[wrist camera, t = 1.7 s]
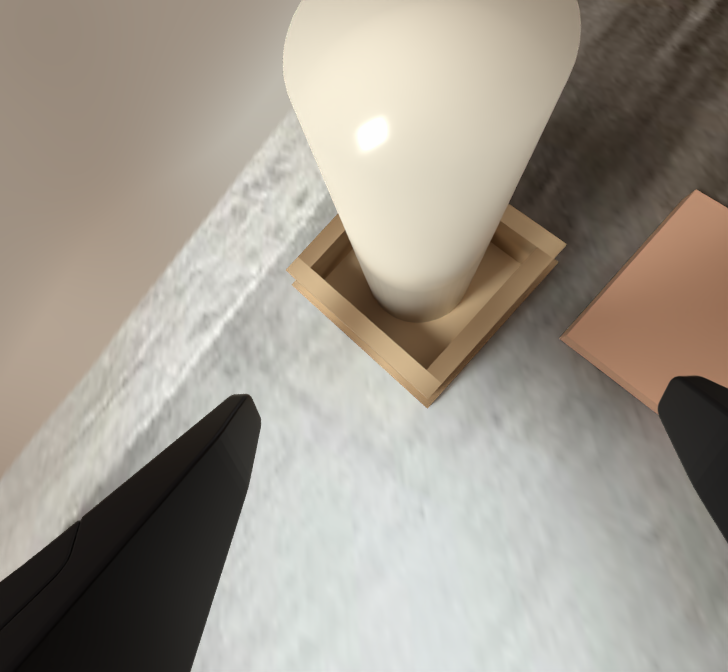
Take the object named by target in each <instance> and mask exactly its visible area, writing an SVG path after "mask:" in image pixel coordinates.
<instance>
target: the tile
mask: <svg viewBox="0 0 728 672" xmlns="http://www.w3.org/2000/svg"><path fill="white" fill-rule="evenodd" d="M559 339H561V340H562V341H563V342H564V343H566V344H567V345H568V346H570V347H571V348H572V349H574V350H575V351H576V352H577V353H579V354H580V355H581V356H583V357H584V358H585V359H587V360H588V361H589V362H590V363H592V364H593V365H594V366H596V367H597V368H598V369H600V370H601V371H602V372H603V373H605V374H606V375H607V376H609V377H610V378H611V379H613V380H614V381H615V382H616V383H618V384H619V385H620V386H622V387H623V388H624V389H626V390H627V391H628V392H629V393H631V394H632V395H633V396H635V397H636V398H637V399H639V400H640V401H641V402H642V403H644V404H645V405H646V406H648V407H649V408H650V409H652V410H653V411H654V412H655V413H657V414H658V403H659V401H660V399H661V397H662V395H663V393H664V391H665V389H666V387H667V385H668V384H669V382H670V380H671V379H672V378H674V377H676V376H692V375H696V376H702V377H704V378H707V379H709V380H711V381H713V382H715V383H717V384H719V385H722V386H724V387H726V388H728V208H726V207H725V206H723V205H721V204H720V203H718V202H716V201H715V200H713V199H711V198H710V197H708V196H706V195H705V194H703V193H701V192H700V191H698V190H695V191H693V192H692V193H691V194H689V195H688V196H687V197H685V198H684V199H682V201H681V202H680V203H679V204H678V205H677V206H676V207H675V208H674V210H673V211H672V212H671V213H670V214H669V215H668V216H667V217H666V219H665V220H664V221H663V222H662V223H661V224H660V225H659V226H658V228H657V229H656V230H655V231H654V232H653V233H652V234H651V235H650V237H649V238H648V239H647V240H646V241H645V242H644V243H643V244H642V246H641V247H640V248H639V249H638V250H637V251H636V252H635V253H634V255H633V256H632V257H631V258H630V259H629V260H628V261H627V262H626V264H625V265H624V266H623V267H622V268H621V269H620V270H619V271H618V273H617V274H616V275H615V276H614V277H613V278H612V279H611V280H610V282H609V283H608V284H607V285H606V286H605V287H604V288H603V289H602V291H601V292H600V293H599V294H598V295H597V296H596V297H595V298H594V300H593V301H592V302H591V303H590V304H589V305H588V306H587V307H586V309H585V310H584V311H583V312H582V313H581V314H580V315H579V316H578V318H577V319H576V320H575V321H574V322H573V323H572V324H571V325H570V327H569V328H568V329H567V330H566V331H565V332H564V333H563V334H562V336H561V337H560V338H559ZM658 415H659V414H658Z"/></svg>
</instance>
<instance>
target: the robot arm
mask: <svg viewBox="0 0 728 672" xmlns="http://www.w3.org/2000/svg"><path fill="white" fill-rule="evenodd" d="M658 414H659V417H660V419H661V421H662V424H663V426H664V428H665V430H666V432H667V434H668V436H669V438H670V440H671V442H672V444H673V446H674V449H675V451H676V453H677V455H678V457H679V459H680V461H681V463H682V465H683V467H684V469H685V471H686V473H687V475H688V477H689V479H690V481H691V483H692V485H693V487H694V489H695V490H696V492H697V494H698V496H699V497H700V499H701V501H702V502H703V504H704V506H705V507H706V509H707V510H708V512H709V514H710V515H711V517H712V519H713V520H714V522H715V523H716V525H717V527H718V528H719V530H720V532H721V533H722V535H723V536H724V538H725V540H726V541H727V543H728V388H726V387H724V386H722V385H719V384H717V383H715V382H713V381H711V380H709V379H707V378H704V377H702V376H696V375H692V376H676V377H674V378H672V379H671V380H670V382H669V384H668V385H667V387H666V389H665V391H664V393H663V395H662V397H661V399H660V401H659V403H658ZM260 429H261V418H260V415H259V413H258V411H257V408H256V406H255V404H254V401H253V399H252V397H251V396H250V395H249V394H234V395H231V396H230V397H228V398H227V399H226V400H224V401H223V402H222V403H221V404H220V405H218V406H217V407H216V408H215V409H213V410H212V411H211V412H210V413H209V414H207V415H206V416H205V417H204V418H203V419H201V420H200V421H199V422H198V423H196V424H195V425H194V426H193V427H192V428H190V429H189V430H188V431H187V432H185V433H184V434H183V435H182V436H181V437H179V438H178V439H177V440H176V441H174V442H173V443H172V444H171V445H170V446H168V447H167V448H166V449H165V450H163V451H162V452H161V453H160V454H159V455H157V456H156V457H155V458H154V459H152V460H151V461H150V462H149V463H148V464H146V465H145V466H144V467H143V468H142V469H140V470H139V471H138V472H137V473H135V474H134V475H133V476H132V477H131V478H129V479H128V480H127V481H126V482H124V483H123V484H122V485H121V486H120V487H118V488H117V489H116V490H115V491H113V492H112V493H111V494H110V495H109V496H107V497H106V498H105V499H104V500H102V501H101V502H100V503H99V504H98V505H96V506H95V507H94V508H93V509H91V510H90V511H89V512H88V513H87V514H85V515H84V516H83V517H82V519H81V521H77V522H75V523H74V524H73V525H72V526H71V527H69V528H68V529H67V530H66V531H64V532H63V533H62V534H61V535H60V536H58V537H57V538H56V539H55V540H53V541H52V542H51V543H50V544H48V545H47V546H46V547H45V548H43V549H42V550H41V551H40V552H38V553H37V554H36V555H35V556H33V557H32V558H31V559H30V560H28V561H27V562H26V563H25V564H23V565H22V566H21V567H19V568H18V569H17V570H15V571H14V572H13V573H11V574H10V575H9V576H7V577H6V578H5V579H4V580H2V581H1V582H0V672H191V668H192V665H193V662H194V659H195V656H196V653H197V649H198V646H199V643H200V640H201V637H202V634H203V630H204V627H205V624H206V621H207V618H208V615H209V611H210V608H211V605H212V602H213V599H214V596H215V592H216V589H217V586H218V583H219V580H220V576H221V573H222V570H223V567H224V564H225V561H226V557H227V554H228V551H229V548H230V545H231V542H232V538H233V535H234V532H235V529H236V526H237V523H238V519H239V516H240V513H241V510H242V507H243V504H244V500H245V497H246V494H247V490H248V487H249V482H250V478H251V473H252V468H253V463H254V458H255V453H256V449H257V444H258V439H259V434H260Z"/></svg>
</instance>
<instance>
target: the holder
mask: <svg viewBox="0 0 728 672" xmlns="http://www.w3.org/2000/svg"><path fill="white" fill-rule="evenodd" d="M566 245H567V244H566V243H564V242H563V241H562V240H560V239H559V238H557V237H556V236H554V235H553V234H551V233H550V232H549V231H547V230H546V229H544V228H543V227H541V226H540V225H538V224H537V223H536V222H534V221H533V220H531V219H530V218H528V217H527V216H526V215H524V214H523V213H521V212H520V211H518V210H517V209H515V208H514V207H513V206H511V205H510V204H508V206H507V208H506V210H505V212H504V214H503V216H502V218H501V220H500V222H499V224H498V226H497V229H496V231H495V233H494V235H493V237H492V239H491V241H490V243H489V245H488V247H487V249H486V252H485V254H484V256H483V258H482V260H481V262H480V264H479V266H478V268H477V270H476V273H475V275H474V277H473V279H472V281H471V283H470V285H469V287H468V289H467V291H466V293H465V295H464V297H463V299H462V300H461V302H460V303H459V304H458V305H457V306H456V307H455V308H454V309H453V310H452V311H451V312H449V313H448V314H447V315H445V316H443V317H441V318H439V319H436V320H433V321H429V322H423V323H413V322H407V321H403V320H400V319H397V318H395V317H393V316H392V315H390V314H388V313H387V312H386V311H385V310H384V309H383V308H381V307H380V305H379V304H378V303H377V301H376V300H375V298H374V296H373V294H372V292H371V289H370V287H369V285H368V282H367V280H366V278H365V275H364V273H363V271H362V268H361V266H360V263H359V261H358V259H357V256H356V254H355V252H354V249H353V247H352V245H351V242H350V240H349V238H348V235H347V233H346V230H345V228H344V226H343V223H342V221H341V219H340V216H339V214H337V215H336V216H335V217H334V218H333V219H332V221H331V222H330V223H329V224H328V225H327V226H326V227H325V228H324V229H323V230H322V231H321V232H320V234H319V235H318V236H317V237H316V238H315V239H314V240H313V241H312V242H311V243H310V244H309V245H308V247H307V248H306V249H305V250H304V251H303V252H302V253H301V254H300V255H299V256H298V257H297V258H296V260H295V261H294V262H293V263H292V264H291V265H290V266H289V267H288V268H287V269H286V271H287V272H288V273H289V274H290V275H292V276H293V277H294V278H295V279H296V281H295V282H294V283H293V284H292V285H293V286H294V287H295V288H296V289H297V290H298V291H299V292H300V293H301V294H302V295H303V296H305V297H306V298H307V299H308V300H309V301H310V302H311V303H312V304H313V305H314V306H316V307H317V308H318V309H319V310H320V311H321V312H322V313H323V314H324V315H325V316H327V317H328V318H329V319H330V320H331V321H332V322H333V323H334V324H335V325H336V326H338V327H339V328H340V329H341V330H342V331H343V332H344V333H345V334H346V335H347V336H348V337H350V338H351V339H352V340H353V341H354V342H355V343H356V344H357V345H358V346H359V347H361V348H362V349H363V350H364V351H365V352H366V353H367V354H368V355H369V356H370V357H372V358H373V359H374V360H375V361H376V362H377V363H378V364H379V365H380V366H381V367H382V368H384V369H385V370H386V371H387V372H388V373H389V374H390V375H391V376H392V377H393V378H395V379H396V380H397V381H398V382H399V383H400V384H401V385H402V386H403V387H404V388H406V389H407V390H408V391H409V392H410V393H411V394H412V395H413V396H414V397H415V398H416V399H418V400H419V401H420V402H421V403H422V404H423V405H424V406H425V407H426V408H428V407H429V406H430V405H431V404H432V403H433V402H434V401H435V399H436V398H437V397H438V396H439V395H440V394H441V393H442V392H443V391H444V389H445V388H446V387H447V386H448V385H449V384H450V383H451V382H452V380H453V379H454V378H455V377H456V376H457V375H458V374H459V373H460V372H461V370H462V369H463V368H464V367H465V366H466V365H467V364H468V363H469V361H470V360H471V359H472V358H473V357H474V356H475V355H476V354H477V353H478V351H479V350H480V349H481V348H482V347H483V346H484V345H485V344H486V343H487V341H488V340H489V339H490V338H491V337H492V336H493V335H494V334H495V332H496V331H497V330H498V329H499V328H500V327H501V326H502V325H503V324H504V322H505V321H506V320H507V319H508V318H509V317H510V316H511V315H512V314H513V312H514V311H515V310H516V309H517V308H518V307H519V306H520V305H521V303H522V302H523V301H524V300H525V299H526V298H527V297H528V296H529V295H530V293H531V292H532V291H533V290H534V289H535V288H536V287H537V286H538V285H539V283H540V282H541V281H542V280H543V279H544V278H545V277H546V276H547V274H548V273H549V272H550V271H551V270H552V269H553V268H554V267H555V266H556V264H557V263H558V261H557V260H555V259H554V258H555V257H556V256H557V255H558V254H559V253H560V251H561V250H562V249H563V248H564V247H565V246H566Z"/></svg>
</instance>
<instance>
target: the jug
mask: <svg viewBox="0 0 728 672" xmlns="http://www.w3.org/2000/svg"><path fill="white" fill-rule="evenodd" d="M580 33H581V20H580V10H579V6H578V2H577V0H302V1H301V3H300V4H299V6H298V8H297V10H296V12H295V14H294V16H293V18H292V21H291V23H290V26H289V29H288V32H287V36H286V40H285V45H284V53H283V72H284V80H285V85H286V89H287V93H288V95H289V98H290V100H291V103H292V105H293V108H294V110H295V113H296V115H297V117H298V120H299V122H300V124H301V127H302V129H303V131H304V134H305V136H306V139H307V141H308V143H309V146H310V148H311V150H312V153H313V155H314V157H315V160H316V162H317V164H318V167H319V169H320V172H321V174H322V176H323V179H324V181H325V183H326V186H327V188H328V190H329V193H330V195H331V197H332V200H333V202H334V205H335V207H336V209H337V212H338V214H339V216H340V219H341V221H342V223H343V226H344V228H345V230H346V233H347V235H348V238H349V240H350V242H351V245H352V247H353V249H354V252H355V254H356V256H357V259H358V261H359V263H360V266H361V268H362V271H363V273H364V275H365V278H366V280H367V282H368V285H369V287H370V289H371V292H372V294H373V296H374V298H375V300H376V301H377V303H378V304H379V305H380V307H381V308H383V309H384V310H385V311H386V312H387V313H388V314H390V315H392V316H393V317H395V318H397V319H400V320H403V321H407V322H413V323H423V322H429V321H433V320H436V319H439V318H441V317H443V316H445V315H447V314H448V313H449V312H451V311H452V310H453V309H454V308H455V307H456V306H457V305H458V304H459V303H460V302H461V300H462V299H463V297H464V295H465V293H466V291H467V289H468V287H469V285H470V283H471V281H472V279H473V277H474V275H475V273H476V270H477V268H478V266H479V264H480V262H481V260H482V258H483V256H484V254H485V252H486V249H487V247H488V245H489V243H490V241H491V239H492V237H493V235H494V233H495V231H496V229H497V226H498V224H499V222H500V220H501V218H502V216H503V214H504V212H505V210H506V208H507V206H508V203H509V201H510V199H511V197H512V195H513V193H514V191H515V189H516V187H517V185H518V182H519V180H520V178H521V176H522V174H523V172H524V170H525V168H526V166H527V164H528V162H529V159H530V157H531V155H532V153H533V151H534V149H535V147H536V145H537V143H538V141H539V139H540V136H541V134H542V132H543V130H544V128H545V126H546V124H547V122H548V120H549V118H550V115H551V113H552V111H553V109H554V107H555V105H556V103H557V101H558V99H559V97H560V95H561V92H562V90H563V88H564V86H565V84H566V82H567V80H568V78H569V75H570V73H571V70H572V68H573V66H574V63H575V61H576V57H577V52H578V48H579V44H580Z"/></svg>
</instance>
